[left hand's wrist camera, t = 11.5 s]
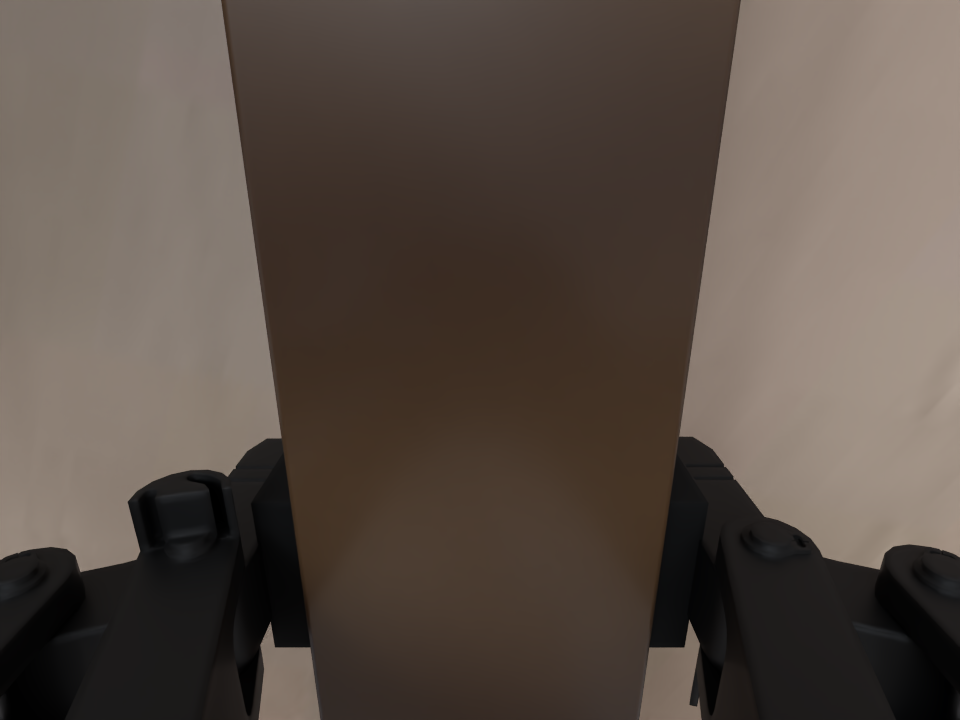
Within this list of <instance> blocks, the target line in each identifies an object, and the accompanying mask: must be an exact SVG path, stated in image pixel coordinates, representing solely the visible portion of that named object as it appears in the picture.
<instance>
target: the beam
mask: <svg viewBox="0 0 960 720" xmlns="http://www.w3.org/2000/svg"><path fill="white" fill-rule="evenodd" d="M221 2H222V9H223V17H224V24H225V31H226V38H227V46H228V53H229V60H230V67H231V75H232V82H233V89H234V96H235V104H236V111H237V118H238V125H239V132H240V140H241V147H242V154H243V161H244V169H245V176H246V183H247V190H248V198H249V205H250V212H251V219H252V227H253V234H254V241H255V248H256V256H257V263H258V270H259V277H260V284H261V292H262V299H263V306H264V313H265V321H266V328H267V335H268V342H269V350H270V357H271V364H272V371H273V379H274V386H275V393H276V400H277V408H278V415H279V422H280V429H281V436H282V444H283V451H284V458H285V465H286V473H287V480H288V487H289V494H290V502H291V509H292V516H293V523H294V531H295V538H296V545H297V552H298V560H299V567H300V574H301V581H302V588H303V596H304V603H305V610H306V617H307V625H308V632H309V639H310V646H311V654H312V661H313V668H314V675H315V683H316V690H317V697H318V704H319V712H320V719H321V720H639V716H640V709H641V702H642V695H643V688H644V681H645V674H646V666H647V659H648V652H649V645H650V638H651V631H652V624H653V617H654V610H655V603H656V596H657V589H658V582H659V575H660V567H661V560H662V553H663V546H664V539H665V532H666V525H667V518H668V511H669V504H670V497H671V490H672V483H673V476H674V468H675V461H676V454H677V447H678V440H679V433H680V426H681V419H682V412H683V405H684V398H685V391H686V384H687V377H688V369H689V362H690V355H691V348H692V341H693V334H694V327H695V320H696V313H697V306H698V299H699V292H700V285H701V278H702V270H703V263H704V256H705V249H706V242H707V235H708V228H709V221H710V214H711V207H712V200H713V193H714V186H715V178H716V171H717V164H718V157H719V150H720V143H721V136H722V129H723V122H724V115H725V108H726V101H727V94H728V87H729V79H730V72H731V65H732V58H733V51H734V44H735V37H736V30H737V23H738V16H739V9H740V2H741V0H221Z"/></svg>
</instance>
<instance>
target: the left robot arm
mask: <svg viewBox="0 0 960 720" xmlns="http://www.w3.org/2000/svg"><path fill="white" fill-rule="evenodd" d="M128 505H129V509H130V513H131V516H132V520H133V524H134V528H135V532H136V536H137V540H138V543H139V547H140V553H139V556H138V558H137V560H134V561H130V562H127V563H123V564H118V565H113V566H108V567H103V568H98V569H94V570H89V571H84V572H80V570H79V566H78V563H77V560H76V557H75V555H73V554H72V553H71V552H70V551H68V550H67V549H61V548H54V547H48V548H40V549H32V550H27V551H23V552H20V553H16V554H13V555H10V556H7V557H5V558H3V559H2V560H0V720H258V719H259V710H260V701H261V692H262V683H263V674H264V665H263V659H262V653H261V647H260V644H261V642H262V640H263V637H264V635H265V633H266V631H267V628H268V626H269V624H270V622H271V626H272V632H273V638H274V644H275V647H311V646H310V639H309V632H308V625H307V617H306V610H305V603H304V596H303V588H302V581H301V574H300V567H299V560H298V552H297V545H296V538H295V531H294V523H293V516H292V509H291V502H290V494H289V487H288V480H287V473H286V465H285V458H284V451H283V444H282V439H266V440H264V441H263V442H261V443H260V444H258V445H256V446H255V447H253V448H252V449H250V450H249V451H247V452H246V454H245V455H244V456H243V458H242V459H241V460H240V462H239V463H238V464H237V465H236V469H233V471H232V472H231V473H230V475H229V476H228V477H227V476H225V475H224V474H223V473H220V472H216V471H211V470H190V471H185V472H180V473H176V474H171V475H168V476H166V477H163V478H161V479H158V480H156V481H153V482H151V483H150V484H148V485H146V486H145V487H143V488H142V489H140V490H138V491H137V492H136V493H135V494H134V495H133V497H132V498H131V499H130V500H129V501H128ZM689 620H690V622H691V624H692V627H693V629H694V631H695V633H696V636H697V638H698V640H699V642H700V647H699V653H698V658H697V664H696V669H695V675H694V680H693V686H692V691H691V698H690V705H692V706H697V704H698V699H699V700H700V709H701V717H702V720H960V557H958V556H956V555H955V554H952V553H949V552H947V551H944V550H943V551H941V550H940V549H936V548H932V547H925V546H917V545H902V546H895V547H892V548H891V549H890V550H889V551H887V552H886V553H885V555H884V558H883V561H882V564H881V568H880V570H878V569H873V568H869V567H864V566H859V565H854V564H849V563H844V562H839V561H835V560H831V559H827V558H824V557H822V555H821V552H820V550H819V549H818V548H817V546H816V545H815V544H814V542H813V541H812V540H811V539H810V538H809V537H808V536H806V535H805V534H803V533H802V532H801V531H799V530H798V529H797V528H795V527H792V526H790V525H788V524H786V523H783V522H781V521H779V520H775V519H771V518H767V517H764V516H763V514H762V513H761V512H760V511H759V509H758V508H757V507H756V505H755V504H754V503H753V501H752V500H751V499H750V498H749V496H748V495H747V494H746V492H745V491H744V490H743V488H742V487H741V486H740V485H739V483H738V482H737V481H736V480H734V479H733V475H732V474H731V473H730V472H729V470H728V469H727V468H726V467H724V464H723V462H722V461H721V460H720V459H719V457H718V456H717V455H716V453H715V452H714V451H713V449H711V448H709V447H708V446H706V445H705V444H703V443H702V442H700V441H698V440H697V439H695V438H694V437H679V440H678V447H677V454H676V461H675V468H674V476H673V483H672V490H671V497H670V504H669V511H668V518H667V525H666V532H665V539H664V546H663V553H662V560H661V567H660V575H659V582H658V589H657V596H656V603H655V610H654V617H653V624H652V631H651V638H650V645H649V647H685V641H686V635H687V629H688V623H689Z"/></svg>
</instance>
